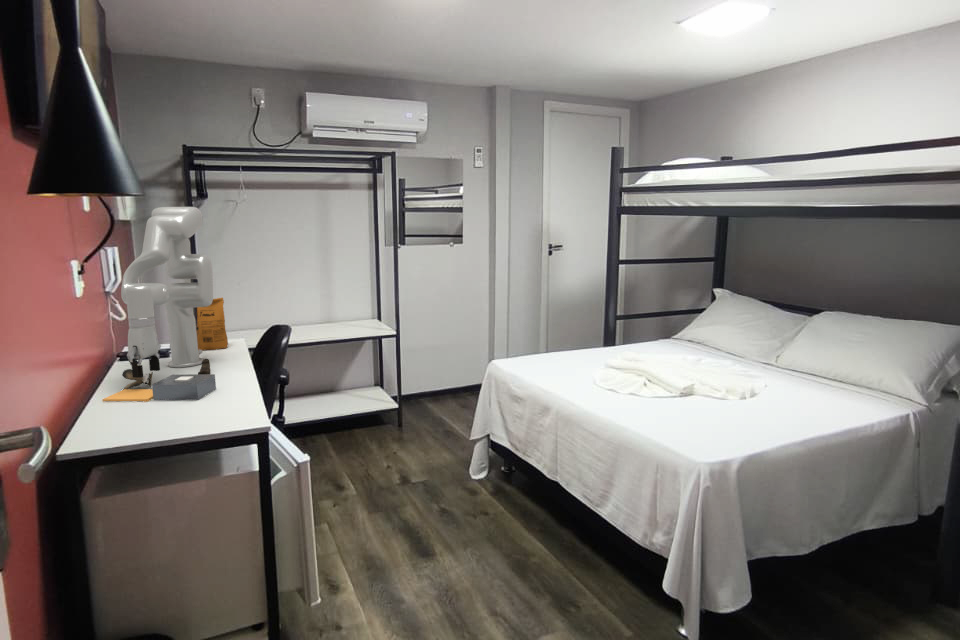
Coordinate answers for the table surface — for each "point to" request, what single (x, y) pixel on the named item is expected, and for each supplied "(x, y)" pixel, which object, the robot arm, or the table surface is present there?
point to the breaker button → (184, 378)
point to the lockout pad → (131, 395)
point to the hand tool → (205, 367)
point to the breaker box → (184, 387)
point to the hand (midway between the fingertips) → (146, 373)
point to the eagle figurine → (139, 381)
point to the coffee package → (211, 326)
